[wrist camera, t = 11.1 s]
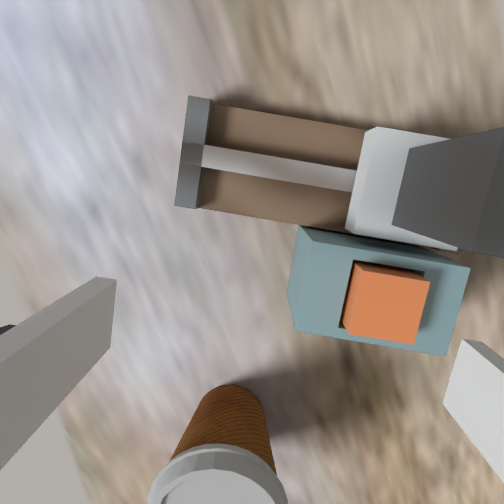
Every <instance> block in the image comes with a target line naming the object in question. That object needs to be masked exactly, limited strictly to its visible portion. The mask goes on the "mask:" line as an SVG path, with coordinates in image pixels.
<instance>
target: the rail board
mask: <svg viewBox="0 0 504 504" xmlns="http://www.w3.org/2000/svg"><path fill="white" fill-rule="evenodd" d="M367 131H369V130H364V129H358V128H352V127H347V126H341V125H335V124H329V123H323V122H317V121H311V120H306V119H300V118H294V117H288V116H282V115H276V114H270V113H265V112H259V111H253V110H247V109H241V108H235V107H229V106H224V105H218V104H213V103H212V101H211V99H205V98H200V97H194V96H188V103H187V111H186V119H185V127H184V134H183V142H182V150H181V158H180V166H179V173H178V181H177V189H176V197H175V204H174V206H179V207H185V208H191V209H197V208H203V209H209V210H215V211H221V212H227V213H233V214H238V215H244V216H250V217H256V218H262V219H268V220H274V221H280V222H286V223H291V224H297V225H303V226H309V227H315V228H321V229H327V230H333V231H339V232H344V233H350V234H354V233H352V232H350V231H348V230H347V229H345V224H346V220H347V215H348V210H349V206H350V201H351V196H352V192H353V187H354V182H355V177H356V173H357V168H358V163H359V159H360V154H361V149H362V145H363V140H364V135H365V132H367ZM356 235H358V234H356ZM362 236H364V235H362ZM368 237H370V236H368ZM374 238H376V237H374ZM380 239H382V238H380ZM386 240H388V239H386ZM392 241H394V240H392ZM397 242H400V241H397ZM403 243H405V242H403ZM409 244H411V243H409ZM415 245H417V244H415ZM421 246H423V245H421ZM427 247H429V246H427ZM431 248H434V249H436V250H439V251H444V252H450V253H456V254H460V251H461V249H460V248H457V251H453V250H447V249H441V248H435V247H431Z"/></svg>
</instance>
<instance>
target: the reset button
mask: <svg viewBox="0 0 504 504" xmlns="http://www.w3.org/2000/svg"><path fill="white" fill-rule="evenodd" d="M429 285H430V281H428V280H426V279H425V278H423V277H421V276H420V275H418V274H416V273H415V272H413V271H411V270H410V269H407V268H401V267H395V266H389V265H384V264H378V263H372V262H366V261H360V260H354V259H353V262H352V267H351V271H350V276H349V280H348V285H347V289H346V294H345V298H344V303H343V307H342V312H341V316H340V319H341V321H342V323H343V324H344V326H345V328H346V330H347V331H348V333H349V334H352V335H358V336H364V337H370V338H376V339H382V340H388V341H394V342H400V343H406V344H411V345H414V343H415V339H416V335H417V331H418V327H419V324H420V320H421V316H422V312H423V308H424V304H425V301H426V297H427V293H428V289H429Z"/></svg>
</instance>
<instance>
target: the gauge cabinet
mask: <svg viewBox="0 0 504 504" xmlns="http://www.w3.org/2000/svg"><path fill="white" fill-rule="evenodd" d="M353 259H354V260H360V261H366V262H372V263H378V264H384V265H389V266H395V267H401V268H407V269H410V270H411V271H413V272H415V273H416V274H418V275H420V276H421V277H423V278H425V279H426V280H428V281H430V285H429V289H428V293H427V297H426V301H425V304H424V308H423V312H422V316H421V320H420V324H419V327H418V331H417V335H416V339H415V343H414V345H411V344H406V343H400V342H394V341H388V340H382V339H376V338H370V337H364V336H358V335H352V334H349V333H348V331H347V330H346V328H345V326H344V324H343V323H342V321H341V319H340V316H341V312H342V307H343V303H344V298H345V294H346V289H347V285H348V280H349V276H350V271H351V267H352V262H353ZM470 269H471V268H470V267H467V266H465V265H462V264H460V263H458V262H455V261H453V260H450V259H448V258H446V257H443V256H441V255H438V254H436V253H434V252H431V251H429V250H427V249H424V248H422V247H419V246H417V245H414V244H408V243H403V242H397V241H391V240H385V239H379V238H373V237H367V236H361V235H355V234H350V233H344V232H338V231H332V230H326V229H320V228H314V227H308V226H303V225H299V229H298V234H297V239H296V245H295V250H294V255H293V260H292V266H291V271H290V276H289V281H288V287H287V296H288V301H289V306H290V310H291V315H292V320H293V324H294V329H295V331H298V332H304V333H310V334H316V335H322V336H328V337H334V338H339V339H345V340H351V341H357V342H363V343H369V344H375V345H381V346H387V347H393V348H399V349H405V350H411V351H416V352H422V353H428V354H434V355H440V356H446V355H447V351H448V348H449V344H450V341H451V337H452V333H453V330H454V326H455V323H456V319H457V316H458V312H459V308H460V305H461V301H462V298H463V294H464V291H465V287H466V283H467V280H468V276H469V273H470Z"/></svg>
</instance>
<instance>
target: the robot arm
mask: <svg viewBox="0 0 504 504" xmlns="http://www.w3.org/2000/svg"><path fill="white" fill-rule="evenodd" d="M116 281H117V280H114V279H108V278H102V277H95V278H93V279H92V280H90V281H88V282H87V283H85V284H83V285H82V286H80V287H79V288H77V289H75V290H74V291H72V292H70V293H69V294H67V295H65V296H64V297H62V298H60V299H59V300H57V301H56V302H54V303H52V304H51V305H49V306H47V307H46V308H44V309H42V310H41V311H39V312H38V313H36V314H34V315H33V316H31V317H29V318H28V319H26V320H24V321H23V322H21V323H19V324H18V325H7V326H4V327H0V470H1V469H2V468H3V467H4V466H5V464H6V463H7V462H8V461H9V460H10V459H11V458H12V457H13V456H14V454H15V453H16V452H17V451H18V450H19V449H20V448H21V447H22V445H23V444H24V443H25V442H26V441H27V440H28V439H29V438H30V436H31V435H32V434H33V433H34V432H35V431H36V430H37V428H39V426H40V425H41V424H42V423H43V422H44V421H45V419H47V417H48V416H49V415H50V414H51V413H52V412H53V411H54V410H55V408H56V407H57V406H58V405H59V404H60V403H61V402H62V401H63V400H64V398H65V397H66V396H67V395H68V394H69V393H70V392H71V391H72V389H73V388H74V387H75V386H76V385H77V384H78V383H79V382H80V380H81V379H82V378H83V377H84V376H85V375H86V374H87V373H88V372H89V370H90V369H91V368H92V367H93V366H94V365H95V364H96V363H97V361H98V360H99V359H100V358H101V357H102V356H103V355H104V354H105V352H106V351H107V350H108V349H109V348H110V342H111V332H112V322H113V312H114V302H115V291H116ZM443 405H444V406H445V408H446V409H447V410H448V411H449V413H450V414H451V415H452V417H453V418H454V419H455V421H456V422H457V423H458V424H459V426H460V427H461V428H462V430H463V431H464V432H465V433H466V435H467V436H468V437H469V439H470V440H471V441H472V443H473V444H474V445H475V446H476V448H477V449H478V450H479V452H480V453H481V454H482V455H483V457H484V458H485V459H486V461H487V462H488V463H489V465H490V466H491V467H492V468H493V470H494V471H495V472H496V474H497V475H498V476H499V477H500V479H501V480H502V481H503V483H504V359H503V358H502V357H501V356H500V355H498V354H497V353H496V352H494V351H493V350H492V349H490V348H489V347H488V346H487V345H485V344H484V343H483V342H479V341H473V340H467V339H462V341H461V344H460V347H459V351H458V354H457V357H456V361H455V364H454V367H453V371H452V374H451V377H450V381H449V384H448V388H447V391H446V394H445V398H444V401H443Z"/></svg>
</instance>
